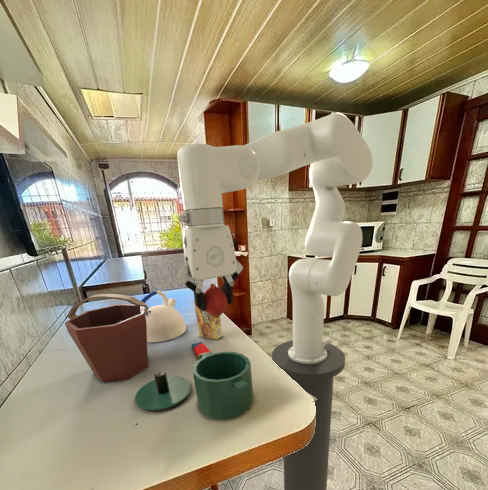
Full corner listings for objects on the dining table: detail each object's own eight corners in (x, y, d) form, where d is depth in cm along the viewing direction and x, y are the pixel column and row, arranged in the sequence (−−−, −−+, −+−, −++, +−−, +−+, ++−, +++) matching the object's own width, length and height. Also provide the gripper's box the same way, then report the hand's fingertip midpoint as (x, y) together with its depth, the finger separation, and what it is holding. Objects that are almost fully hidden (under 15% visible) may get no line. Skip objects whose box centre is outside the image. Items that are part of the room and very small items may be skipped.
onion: (201, 315, 63) (197, 282, 60) (225, 311, 64) (222, 278, 61) (206, 324, 57) (201, 287, 54) (232, 319, 59) (228, 283, 56)
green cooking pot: (230, 375, 79) (226, 343, 75) (270, 409, 64) (268, 372, 60) (186, 393, 73) (180, 359, 69) (219, 435, 57) (214, 395, 53)
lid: (180, 373, 82) (176, 354, 80) (199, 397, 71) (196, 375, 68) (131, 391, 75) (125, 371, 73) (143, 421, 64) (137, 398, 61)
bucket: (172, 355, 94) (158, 285, 84) (129, 393, 74) (105, 308, 65) (116, 350, 101) (98, 285, 92) (64, 383, 82) (34, 306, 72)
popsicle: (202, 361, 85) (190, 344, 97) (203, 365, 85) (190, 347, 98) (216, 357, 87) (202, 341, 99) (216, 361, 87) (202, 344, 100)
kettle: (196, 326, 118) (190, 286, 111) (163, 346, 101) (153, 300, 94) (162, 321, 127) (154, 284, 120) (126, 339, 110) (115, 296, 103)
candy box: (222, 335, 106) (218, 298, 100) (216, 340, 103) (212, 302, 97) (205, 332, 110) (200, 297, 104) (198, 336, 107) (193, 300, 101)
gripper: (168, 222, 46) (184, 320, 53) (251, 216, 54) (256, 301, 61) (156, 223, 52) (172, 310, 59) (233, 217, 60) (239, 294, 67)
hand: (215, 305), depth 60 cm, fingers closed on onion, 5 cm apart
